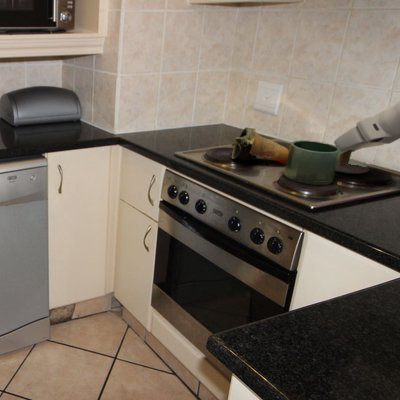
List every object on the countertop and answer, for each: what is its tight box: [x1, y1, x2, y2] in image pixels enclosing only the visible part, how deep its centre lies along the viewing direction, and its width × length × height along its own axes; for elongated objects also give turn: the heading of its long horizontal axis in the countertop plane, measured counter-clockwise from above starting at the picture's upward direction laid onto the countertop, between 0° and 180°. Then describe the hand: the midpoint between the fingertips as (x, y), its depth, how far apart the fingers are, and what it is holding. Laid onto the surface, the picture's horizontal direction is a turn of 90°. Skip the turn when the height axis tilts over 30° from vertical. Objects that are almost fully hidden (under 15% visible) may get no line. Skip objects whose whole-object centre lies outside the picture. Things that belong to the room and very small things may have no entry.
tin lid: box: [335, 150, 369, 175], centre depth 147 cm, size 14×14×8 cm
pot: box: [230, 126, 289, 165], centre depth 151 cm, size 17×11×18 cm
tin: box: [283, 139, 341, 186], centre depth 138 cm, size 13×13×10 cm
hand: (344, 151), depth 147 cm, fingers closed on tin lid, 3 cm apart
